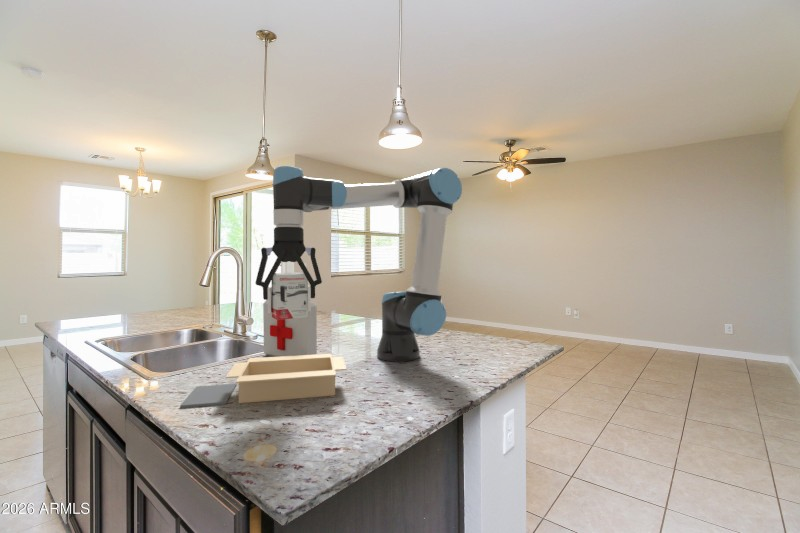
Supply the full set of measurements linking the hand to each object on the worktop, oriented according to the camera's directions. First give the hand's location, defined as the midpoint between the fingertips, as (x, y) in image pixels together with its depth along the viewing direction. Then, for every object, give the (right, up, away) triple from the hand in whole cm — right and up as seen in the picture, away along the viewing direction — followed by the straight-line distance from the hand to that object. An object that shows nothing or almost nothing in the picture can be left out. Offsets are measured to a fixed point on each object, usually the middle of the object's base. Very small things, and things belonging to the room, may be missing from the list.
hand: (290, 311), depth 100 cm
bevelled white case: (-10, -20, +31) cm, 39 cm away
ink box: (0, -2, 0) cm, 2 cm away
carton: (0, -21, +1) cm, 21 cm away
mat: (-19, -21, -4) cm, 29 cm away
